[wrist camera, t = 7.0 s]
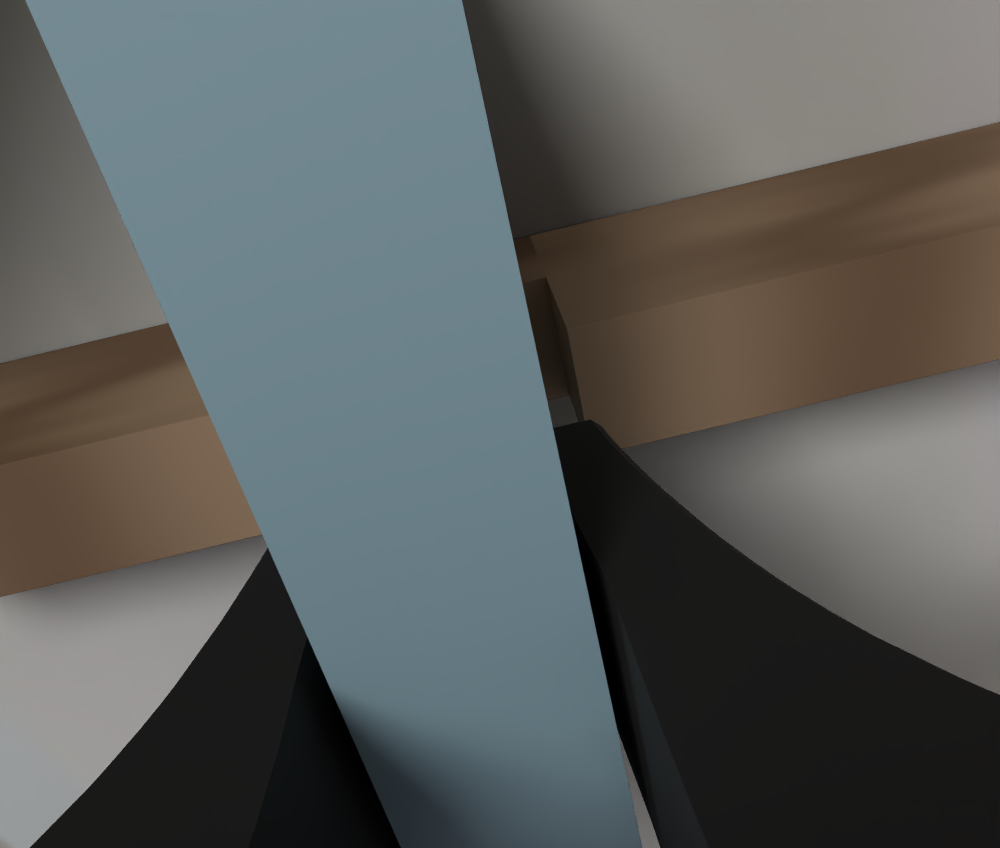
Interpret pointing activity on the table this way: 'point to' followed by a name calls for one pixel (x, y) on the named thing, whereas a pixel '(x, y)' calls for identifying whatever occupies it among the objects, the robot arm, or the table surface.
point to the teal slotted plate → (369, 383)
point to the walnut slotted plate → (560, 345)
